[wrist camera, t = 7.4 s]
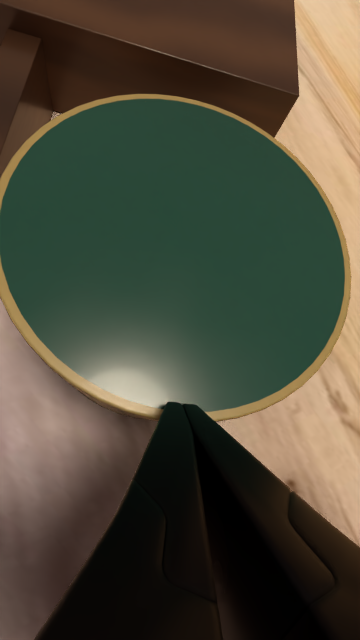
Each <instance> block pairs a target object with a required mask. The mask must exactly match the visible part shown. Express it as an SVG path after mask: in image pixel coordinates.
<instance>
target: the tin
mask: <svg viewBox="0 0 360 640" xmlns="http://www.w3.org/2000/svg"><path fill="white" fill-rule="evenodd" d="M350 289H351V271H350V259H349V254H348V249H347V244H346V240H345V237H344V234H343V231H342V228H341V225H340V222H339V220H338V218H337V215H336V213H335V211H334V209H333V207H332V205H331V203H330V201H329V199H328V198H327V196H326V194H325V193H324V191H323V189H322V188H321V186H320V185H319V184H318V182H317V181H316V180H315V178H314V177H313V176H312V174H311V173H310V172H309V171H308V170H307V168H306V167H305V166H304V165H303V164H302V163H301V162H300V161H299V159H298V158H297V157H295V156H294V155H293V154H292V153H291V152H290V151H289V150H288V149H287V148H286V147H285V146H284V145H282V144H281V143H280V142H278V141H277V140H276V139H275V138H273V137H272V136H271V135H269V134H268V133H267V132H265V131H263V130H262V129H260V128H259V127H257V126H256V125H254V124H252V123H251V122H249V121H247V120H245V119H243V118H241V117H239V116H237V115H235V114H233V113H231V112H228V111H226V110H223V109H221V108H219V107H216V106H213V105H210V104H207V103H203V102H200V101H197V100H192V99H187V98H183V97H178V96H170V95H160V94H130V95H120V96H113V97H109V98H104V99H99V100H95V101H92V102H89V103H86V104H83V105H80V106H77V107H75V108H73V109H71V110H69V111H67V112H65V113H63V114H61V115H59V116H57V117H56V118H54V119H53V120H51V121H50V122H48V123H47V124H45V125H44V126H42V127H41V128H40V129H39V130H37V131H36V132H35V133H34V134H33V135H32V136H31V137H30V138H28V139H27V140H26V141H25V142H24V144H23V145H22V146H21V147H20V149H19V150H18V151H17V152H16V153H15V155H14V156H13V157H12V159H11V160H10V162H9V164H8V166H7V167H6V169H5V171H4V172H3V174H2V176H1V178H0V298H1V300H2V302H3V304H4V306H5V308H6V310H7V312H8V314H9V316H10V318H11V320H12V322H13V323H14V325H15V326H16V328H17V329H18V330H19V332H20V333H21V335H22V336H23V338H24V339H25V340H26V342H27V343H28V345H29V346H30V347H31V348H32V349H33V350H34V351H35V352H36V353H37V354H38V355H39V356H40V357H41V359H42V360H43V361H44V362H45V363H46V364H47V365H48V366H49V367H50V368H51V369H52V370H53V371H54V372H56V373H57V374H58V375H59V376H61V377H62V378H63V379H64V380H66V381H67V382H68V383H69V384H71V385H72V386H73V387H74V388H76V389H77V390H78V391H79V392H81V393H82V394H83V395H84V396H86V397H87V398H88V399H90V400H91V401H93V402H95V403H96V404H98V405H100V406H102V407H103V408H106V409H108V410H111V411H113V412H115V413H118V414H121V415H125V416H129V417H133V418H139V419H147V420H156V421H159V419H160V417H161V414H162V412H163V410H164V408H165V405H166V403H167V402H178V403H181V404H184V403H186V404H195V405H197V406H199V407H200V408H201V409H202V410H203V411H204V412H205V413H206V414H207V415H209V416H210V417H211V418H212V419H213V420H214V421H215V422H217V421H223V420H229V419H235V418H239V417H242V416H246V415H249V414H252V413H255V412H258V411H261V410H263V409H265V408H267V407H269V406H271V405H273V404H275V403H277V402H279V401H281V400H283V399H285V398H286V397H287V396H289V395H290V394H292V393H293V392H294V391H296V390H297V389H299V388H300V387H301V386H302V385H304V384H305V383H306V382H307V381H308V380H309V379H310V378H311V377H312V376H313V375H314V374H315V373H316V372H317V371H318V369H319V368H320V367H321V365H322V364H323V363H324V361H325V360H326V359H327V357H328V356H329V355H330V353H331V351H332V349H333V347H334V345H335V344H336V342H337V340H338V338H339V336H340V334H341V331H342V328H343V325H344V322H345V319H346V316H347V311H348V305H349V300H350Z"/></svg>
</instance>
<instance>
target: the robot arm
mask: <svg viewBox="0 0 360 640" xmlns="http://www.w3.org/2000/svg"><path fill="white" fill-rule="evenodd" d="M34 640H360V547H359V546H357V545H356V544H355V543H354V542H353V541H351V540H350V539H349V538H348V537H346V536H345V535H344V534H343V533H341V532H340V531H339V530H338V529H337V528H335V527H334V526H333V525H332V524H330V523H329V522H328V521H327V520H326V519H325V518H323V517H322V516H321V515H320V514H319V513H318V512H316V511H315V510H314V509H313V508H312V507H311V506H310V505H308V504H307V503H306V502H305V501H304V500H303V499H302V498H301V497H299V496H298V495H297V494H296V493H295V492H294V491H291V490H290V488H289V487H287V486H286V485H285V484H284V483H283V482H282V481H281V480H280V479H279V478H277V477H276V476H275V475H274V474H273V473H272V472H271V471H270V470H269V469H267V468H266V467H265V466H264V465H263V464H262V463H261V462H260V461H259V460H257V459H256V458H255V457H254V456H253V455H252V454H251V453H250V452H249V451H247V450H246V449H245V448H244V447H243V446H242V445H241V444H240V443H239V442H237V441H236V440H235V439H234V438H233V437H232V436H231V435H230V434H229V433H227V432H226V431H225V430H224V429H223V428H222V427H221V426H220V425H219V424H217V423H216V422H215V421H214V420H213V419H212V418H211V417H210V416H209V415H207V414H206V413H205V412H204V411H203V410H202V409H201V408H200V407H199V406H197V405H195V404H186V403H184V404H181V403H178V402H167V403H166V405H165V408H164V410H163V412H162V414H161V417H160V419H159V421H158V423H157V425H156V428H155V430H154V432H153V434H152V436H151V439H150V441H149V443H148V445H147V448H146V450H145V452H144V454H143V456H142V459H141V461H140V463H139V465H138V468H137V470H136V472H135V474H134V476H133V479H132V481H131V482H130V485H129V487H128V489H127V491H126V494H125V496H124V498H123V500H122V502H121V504H120V505H119V507H118V509H117V511H116V513H115V515H114V517H113V518H112V520H111V522H110V523H109V525H108V527H107V528H106V530H105V532H104V533H103V535H102V537H101V538H100V540H99V541H98V543H97V544H96V546H95V547H94V549H93V550H92V552H91V554H90V555H89V557H88V558H87V560H86V561H85V563H84V564H83V566H82V567H81V569H80V570H79V572H78V573H77V575H76V576H75V578H74V579H73V581H72V582H71V584H70V586H69V587H68V589H67V590H66V592H65V593H64V595H63V596H62V598H61V599H60V601H59V602H58V604H57V605H56V607H55V608H54V610H53V611H52V613H51V614H50V616H49V618H48V619H47V621H46V622H45V624H44V625H43V627H42V628H41V630H40V631H39V633H38V634H37V636H36V637H35V639H34Z"/></svg>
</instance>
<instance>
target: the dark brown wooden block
mask: <svg viewBox="0 0 360 640" xmlns="http://www.w3.org/2000/svg"><path fill="white" fill-rule="evenodd" d="M130 94H160V95H170V96H178V97H183V98H187V99H192V100H197V101H200V102H203V103H207V104H210V105H213V106H216V107H219V108H221V109H223V110H226V111H228V112H231V113H233V114H235V115H237V116H239V117H241V118H243V119H245V120H247V121H249V122H251V123H252V124H254V125H256V126H257V127H259V128H260V129H262V130H263V131H265V132H267V133H268V134H269V135H271V136H272V137H273V138H274V137H275V136H276V134H277V132H278V131H279V129H280V127H281V126H282V124H283V122H284V120H285V119H286V117H287V115H288V114H289V112H290V110H291V109H292V107H293V105H294V104H295V102H296V100H297V98H298V97H299V84H298V65H297V46H296V28H295V9H294V0H0V178H1V176H2V174H3V172H4V171H5V169H6V167H7V166H8V164H9V162H10V160H11V159H12V157H13V156H14V155H15V153H16V152H17V151H18V150H19V149H20V147H21V146H22V145H23V144H24V142H25V141H26V140H27V139H28V138H30V137H31V136H32V135H33V134H34V133H35V132H36V131H37V130H39V129H40V128H41V127H42V126H44V125H45V124H47V123H48V122H50V119H51V116H52V113H53V110H54V111H58V112H62V113H65V112H67V111H69V110H71V109H73V108H75V107H77V106H80V105H83V104H86V103H89V102H92V101H95V100H99V99H104V98H109V97H113V96H120V95H130Z"/></svg>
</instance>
